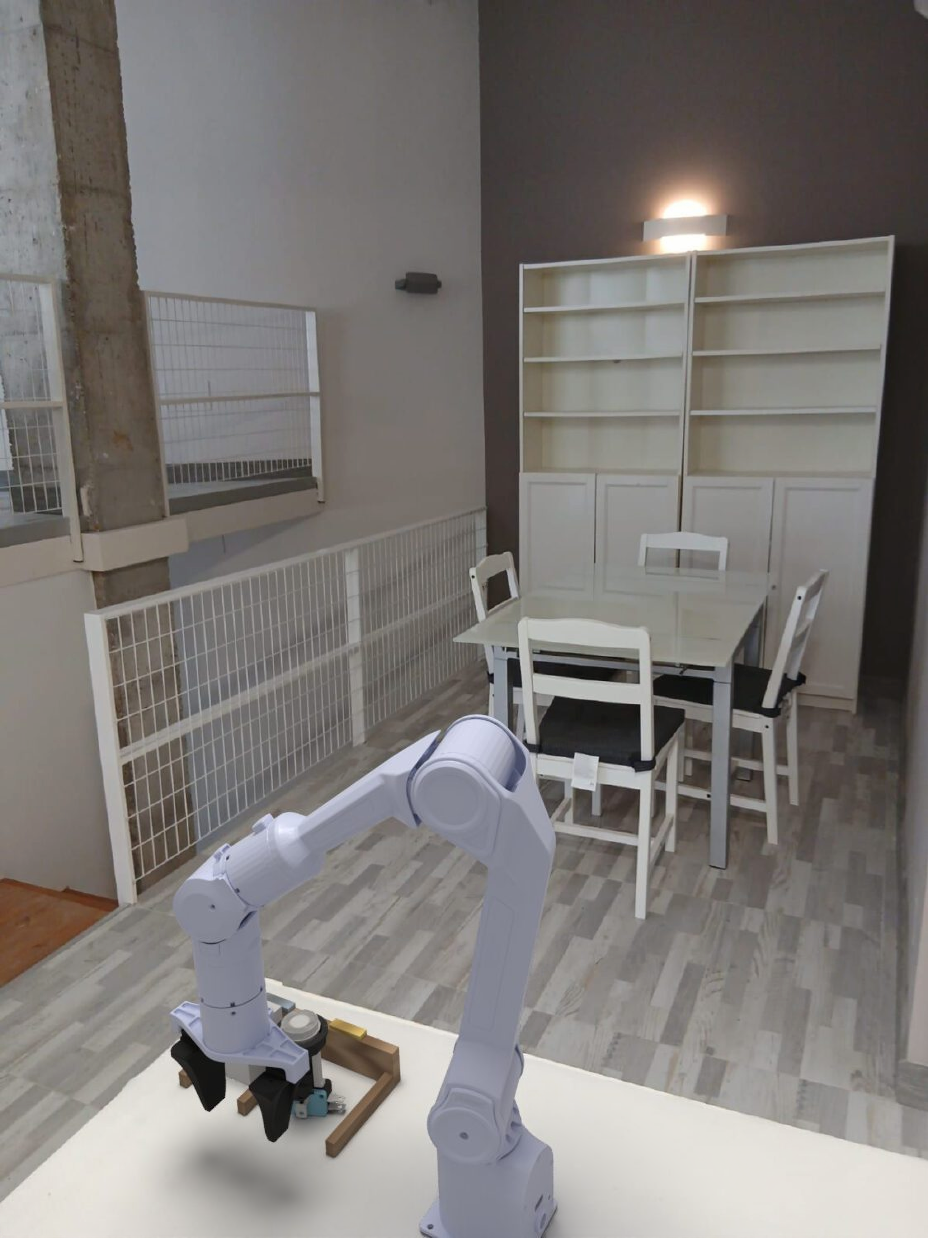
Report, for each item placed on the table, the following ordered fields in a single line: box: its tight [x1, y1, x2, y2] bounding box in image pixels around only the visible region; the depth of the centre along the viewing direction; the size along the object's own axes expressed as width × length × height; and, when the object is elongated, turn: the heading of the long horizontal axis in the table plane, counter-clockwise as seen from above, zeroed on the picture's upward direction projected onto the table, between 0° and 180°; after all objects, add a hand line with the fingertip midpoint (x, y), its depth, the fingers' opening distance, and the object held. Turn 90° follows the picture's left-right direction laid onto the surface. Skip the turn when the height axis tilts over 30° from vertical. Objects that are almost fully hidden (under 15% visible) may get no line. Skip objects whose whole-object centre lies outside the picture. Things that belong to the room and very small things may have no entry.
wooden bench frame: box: [178, 991, 402, 1158], centre depth 95 cm, size 20×11×5 cm, turn 61°
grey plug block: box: [225, 1001, 283, 1087], centre depth 98 cm, size 4×6×6 cm
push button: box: [277, 1008, 347, 1119], centre depth 91 cm, size 7×5×10 cm
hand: (246, 1118), depth 83 cm, fingers open, 7 cm apart
